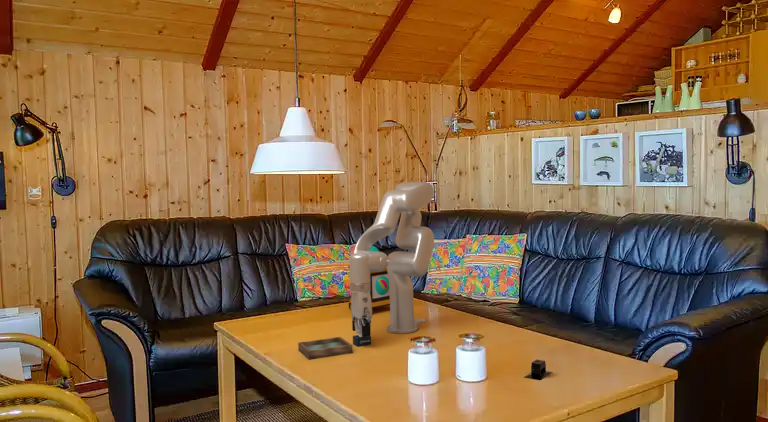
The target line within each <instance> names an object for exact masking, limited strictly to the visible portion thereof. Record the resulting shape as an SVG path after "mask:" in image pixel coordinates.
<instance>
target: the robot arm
mask: <svg viewBox="0 0 768 422" xmlns="http://www.w3.org/2000/svg"><path fill="white" fill-rule="evenodd" d="M434 196H435V189H434V187H433V185H432V184H431V183H429V182H427V181H414V182H413V181H412V182H411V181H409V182H408V181H407V182H401V183H398V184H397V185H396V186H395V189H394V190H389V191H386V192H385V193H384V194H383V197H382V199H381V203H380V205H379V208H378V211H377V213H376V217H375V220H374V223H372V225H371V226H370V227H368V228H367V230H365V232H363V233H362V235H361V236H360V237H359V238H358V240H357V241H356V244H355V247H354V250H353V253H351V254H350V255H349V259H348V260H349V262H348V263H349V265H350V270H349V292H350V293H351V292H352V295H351V294H350V299H351V315H352V316H351V320H352V321H351V324H352V326H351V327H352V328H351V329H352V331H353V332H356V330H355V317H356V318H358V319H360V320H361V321H362V324H363V326H362V336H363V337H366V336H371V335H372V332H371V326H372V323H371V322H372V319H373V314H372V303H371V295H370V291H371V287H370V272H372V271H376V272H379V271H382V270H384V269H385V268H387V272H388V277H389V291H390V305H389V317H390V318H389V319H390V323H389V325H387V327H386V331H387V332H389V333H392V334H410V333H414V332H416V331H418V330H419V326H418V325H419V324H425V323H426V319H425V318H424V317H423V318H422V317H421V318H419V317H417V318H416V317H415V313H414V312H415V308H414V307H415V305H414V285H413V281H412V279H411V278H410V277H412V278H413V277H414V278H421V277H423V276H425V275H426V274H427V272H428V269H429V266H430V262H431V258H432V253H433V248H434V243H435V237H434V232H433V230H432V229H431V228H429V227H428V226H421V223H422V213H421V210H420V208H423V207H424V206H426V205H427V204H429V203H430V202H431V201H433V198H434ZM398 221H399V224H398ZM397 224H398V227H397ZM396 228H397V232H396V235H395V244H396V246H397V247H398V248H399V249H402V250H409V251H401V250H400V251H393V252H390V253H389V254H388V256H387V254H386V253H385V252H383V251H379V252H378V251H369V249H370V248H371V246H374V244H375V243H376V242H378V241H380V240H381V239H384V238H385V237H388V236H390V235H391V234H393V233H394V232H395V230H396ZM411 250H412V251H411ZM364 320H365V322H364ZM370 325H371V326H370Z"/></svg>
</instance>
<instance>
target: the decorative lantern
mask: <svg viewBox="0 0 768 422" xmlns="http://www.w3.org/2000/svg"><path fill="white" fill-rule="evenodd" d="M369 251H378V252H380V249H378V248H377V247H376V246H374V245H372V246H371V248H370V249H369ZM347 268H348V269H349V271H350V264H349V265H348V266H347ZM370 287H371V291H370V295H371V303H372V315H373V313H374V310H375V309H378V308H382V307H388V306H390V291H389V277H388V272H387V268H385V269H384V270H382V271H379V272H376V271H372V272H370ZM351 295H352V292H350V296H351ZM348 309H349V310H351V298H350V299H349V301H348Z"/></svg>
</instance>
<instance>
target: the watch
mask: <svg viewBox="0 0 768 422" xmlns="http://www.w3.org/2000/svg"><path fill="white" fill-rule="evenodd" d="M364 322H365V320H364ZM362 326H363V324H362V321H361V320H360V319H358V318H356V317H355V330H356V331H355V332H356V334H357V335H352V346H355V347H357V348H359V347H361V348H362V347H365V346H371V345H372V336H371V335H370V336H366V337H363V336H362ZM371 326H372V321H371V325H370V327H371Z"/></svg>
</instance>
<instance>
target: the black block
mask: <svg viewBox="0 0 768 422" xmlns="http://www.w3.org/2000/svg"><path fill="white" fill-rule="evenodd" d="M530 369H531V370H530V372H528V374H526V375H525V376H523V378H524V379H530V380H535V381H540V380H541V381H542V379H543V380H544V379H546V378H547V377H549V376H550V375H551V374H553V371H549V370H547V363H546V360H543V359H542V360H541V359H535V360H534V361H531V366H530Z"/></svg>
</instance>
